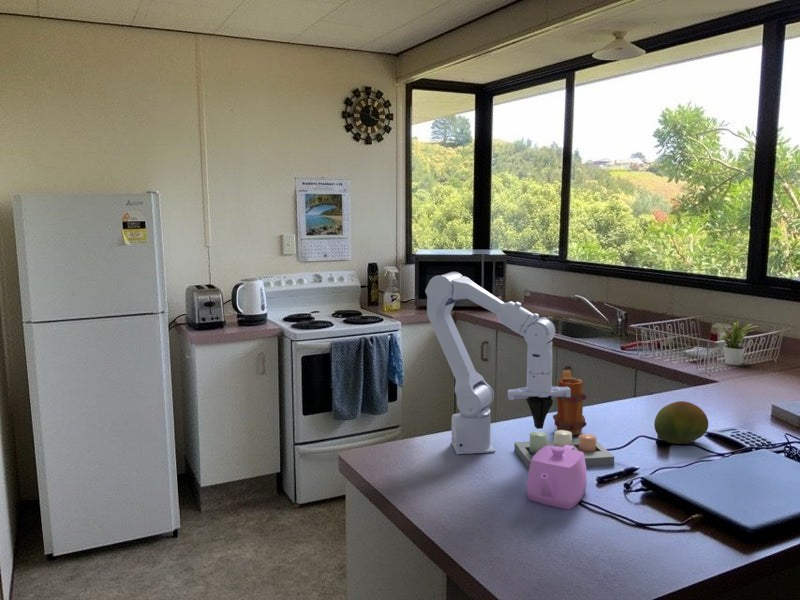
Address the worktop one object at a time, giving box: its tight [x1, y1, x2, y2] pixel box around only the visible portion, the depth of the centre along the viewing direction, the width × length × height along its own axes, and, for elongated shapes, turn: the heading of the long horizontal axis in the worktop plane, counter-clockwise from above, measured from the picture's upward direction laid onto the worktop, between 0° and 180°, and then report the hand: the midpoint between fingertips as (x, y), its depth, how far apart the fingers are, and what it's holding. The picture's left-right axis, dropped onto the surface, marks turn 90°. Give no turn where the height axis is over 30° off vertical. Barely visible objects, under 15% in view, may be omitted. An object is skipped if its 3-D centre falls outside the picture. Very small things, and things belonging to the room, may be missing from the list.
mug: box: [552, 369, 587, 437], centre depth 169 cm, size 15×8×15 cm, turn 173°
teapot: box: [526, 445, 588, 510], centre depth 131 cm, size 18×10×10 cm, turn 148°
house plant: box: [717, 319, 759, 366], centre depth 233 cm, size 14×14×16 cm
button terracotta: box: [578, 433, 597, 452], centre depth 152 cm, size 4×4×4 cm
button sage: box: [529, 431, 548, 455], centre depth 151 cm, size 4×4×4 cm
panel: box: [513, 438, 615, 470], centre depth 152 cm, size 20×12×2 cm, turn 96°
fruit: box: [653, 400, 709, 445], centre depth 159 cm, size 12×13×10 cm
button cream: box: [553, 430, 573, 448], centre depth 151 cm, size 4×4×4 cm
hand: (538, 427), depth 150 cm, fingers closed
